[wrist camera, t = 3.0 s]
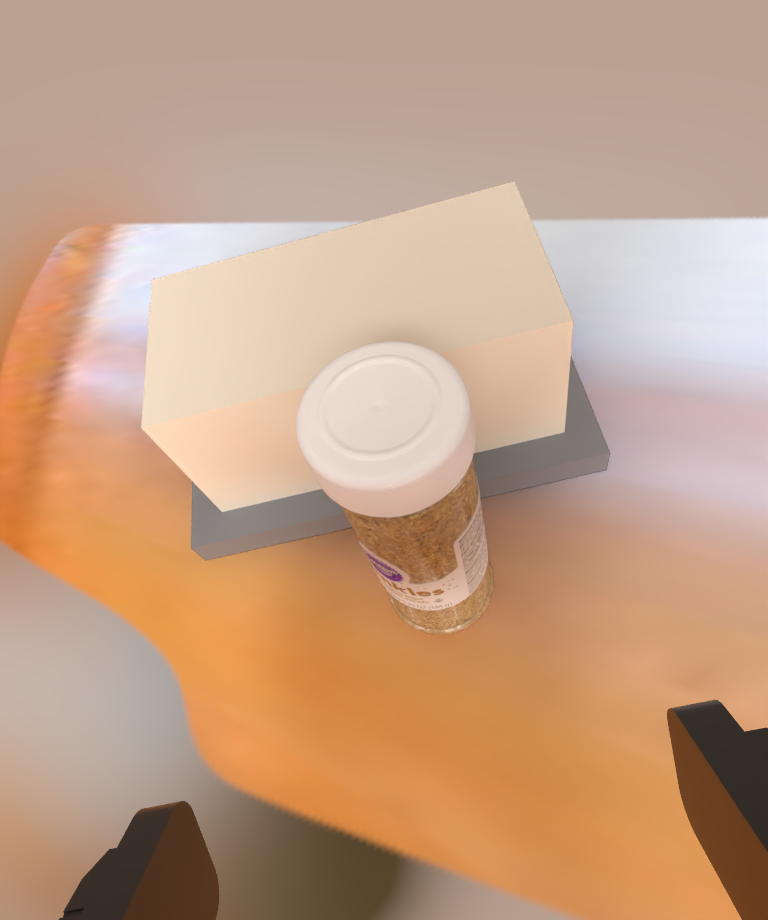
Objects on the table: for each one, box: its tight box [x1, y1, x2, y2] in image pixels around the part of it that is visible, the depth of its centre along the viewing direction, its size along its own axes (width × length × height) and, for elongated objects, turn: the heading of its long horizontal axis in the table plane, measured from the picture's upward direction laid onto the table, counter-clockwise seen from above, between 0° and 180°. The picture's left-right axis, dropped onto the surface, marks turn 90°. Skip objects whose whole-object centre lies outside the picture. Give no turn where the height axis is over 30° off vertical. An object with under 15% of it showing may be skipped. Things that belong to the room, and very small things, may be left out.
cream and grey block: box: [141, 182, 610, 561], centre depth 28 cm, size 19×11×9 cm, turn 99°
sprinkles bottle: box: [296, 341, 494, 634], centre depth 21 cm, size 5×5×13 cm
